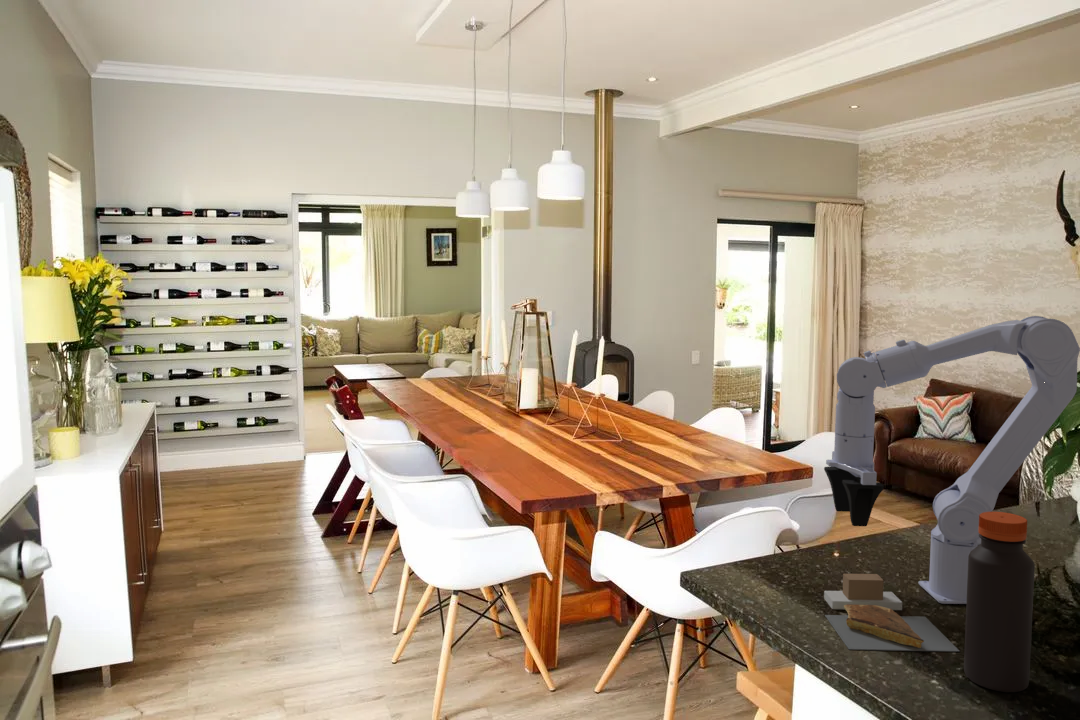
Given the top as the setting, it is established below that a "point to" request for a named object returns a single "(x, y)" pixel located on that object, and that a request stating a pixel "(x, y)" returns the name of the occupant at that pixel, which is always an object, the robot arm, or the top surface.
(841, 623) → the felt mat
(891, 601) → the grout float
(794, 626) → the top surface
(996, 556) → the bottle
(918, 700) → the top surface
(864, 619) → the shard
